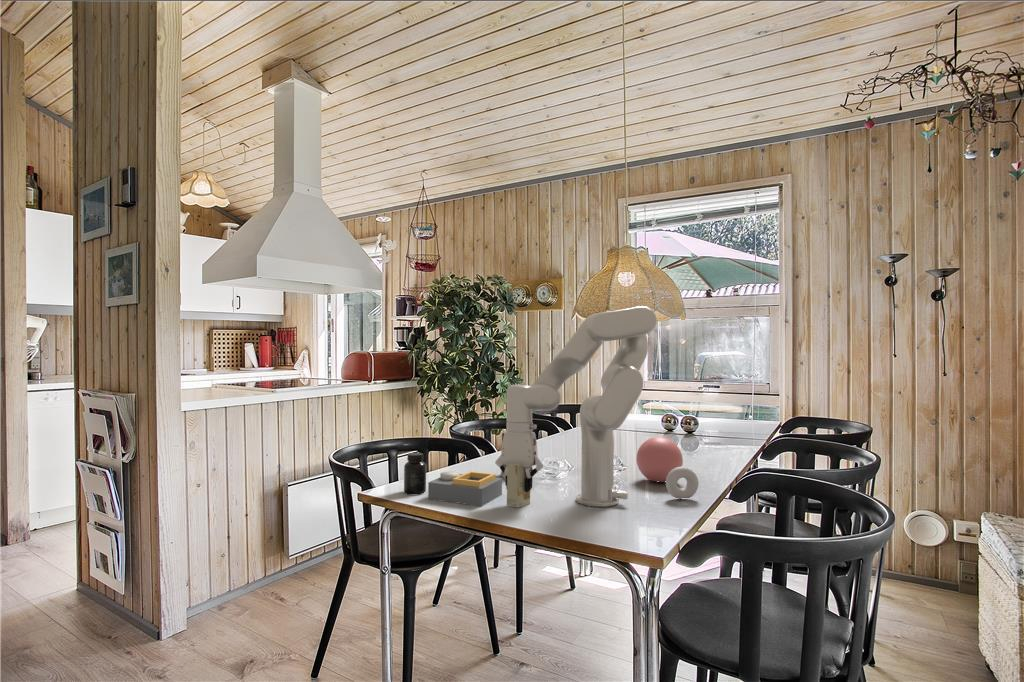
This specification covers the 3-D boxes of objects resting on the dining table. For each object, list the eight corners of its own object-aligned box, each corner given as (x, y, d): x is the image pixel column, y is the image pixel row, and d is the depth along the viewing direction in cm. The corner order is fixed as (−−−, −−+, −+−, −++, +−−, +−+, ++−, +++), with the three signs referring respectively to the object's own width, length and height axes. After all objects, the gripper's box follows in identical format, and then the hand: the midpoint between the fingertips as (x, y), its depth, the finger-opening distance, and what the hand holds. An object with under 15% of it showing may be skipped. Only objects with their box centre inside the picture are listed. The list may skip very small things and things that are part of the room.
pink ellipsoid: (678, 475, 197) (678, 432, 198) (685, 488, 178) (685, 441, 178) (635, 473, 200) (635, 431, 201) (637, 486, 181) (637, 440, 181)
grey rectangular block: (501, 494, 169) (502, 473, 169) (481, 506, 156) (482, 483, 156) (451, 488, 176) (451, 468, 176) (428, 499, 163) (428, 477, 163)
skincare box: (518, 508, 154) (518, 465, 154) (506, 505, 157) (506, 463, 157) (531, 503, 159) (531, 461, 159) (519, 500, 162) (519, 459, 162)
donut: (695, 497, 167) (695, 465, 167) (700, 501, 163) (700, 467, 164) (664, 498, 166) (664, 465, 166) (668, 501, 163) (668, 467, 163)
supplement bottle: (405, 489, 174) (405, 452, 174) (426, 489, 174) (426, 451, 175) (402, 495, 167) (403, 456, 167) (425, 494, 168) (425, 455, 168)
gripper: (551, 427, 158) (550, 490, 158) (498, 424, 165) (497, 483, 165) (542, 431, 151) (541, 496, 151) (487, 427, 158) (486, 489, 158)
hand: (518, 489), depth 158 cm, fingers closed on skincare box, 5 cm apart
